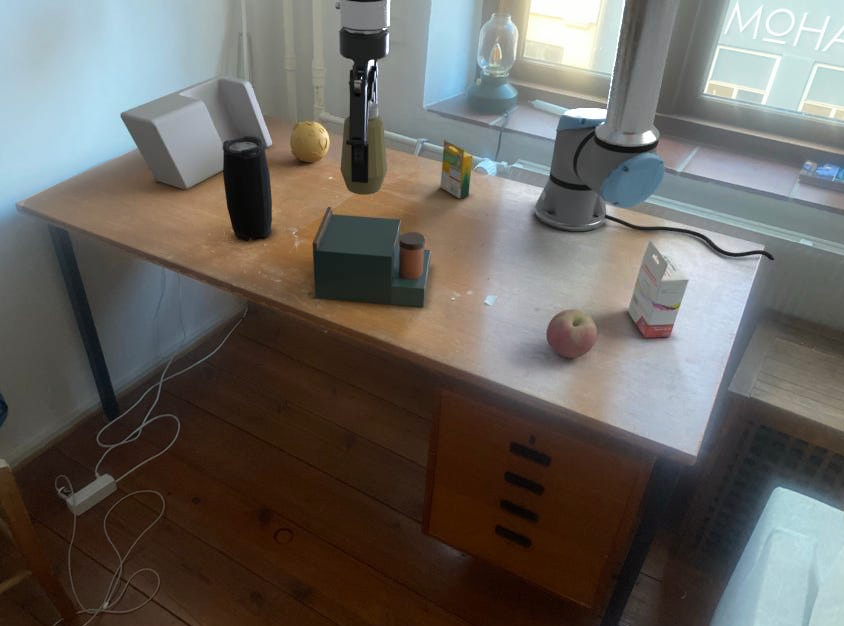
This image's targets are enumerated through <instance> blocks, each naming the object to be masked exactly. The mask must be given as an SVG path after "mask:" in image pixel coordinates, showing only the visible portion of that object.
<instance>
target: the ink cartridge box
mask: <svg viewBox="0 0 844 626" xmlns="http://www.w3.org/2000/svg"><path fill="white" fill-rule="evenodd" d="M689 281H690V280H689V277H688V276H687V275H686V274H685V272H684V271H683V270H682V269H681V267H680V266H679V265H678V264H677V262H676V261H675V259H673V257H672V256H671V255H670V254H662V253H661V252H660V250H659V249H658V248H657V246H656V245H655V244H654V243H653V241H652V240H649V242H648V244H647V247H646V249H645V251H644V254H643V256H642V260H641V263H640V267H639V270H638V273H637V277H636V280H635V284H634V288H633V292H632V295H631V298H630V302H629V306H628V309H627V312H628V314H629V315H630V317H631V319H632V320H633V322H634V324H635V325H636V326H637V328H638V330H639V331H640V333H641V335H642V336H643V338H645V339H646V338H647V339H649V338H670V337H671V335H672V332H673V329H674V326H675V323H676V319H677V316H678V314H679V311H680V308H681V304H682V302H683V298H684V296H685V293H686V290H687V287H688V285H689Z"/></svg>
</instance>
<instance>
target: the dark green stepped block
mask: <svg viewBox="0 0 844 626" xmlns="http://www.w3.org/2000/svg"><path fill="white" fill-rule="evenodd" d="M401 229H402V219H399V218H398V219H397V218H386V217H373V216H361V215H360V216H359V215H348V214H347V215H346V214H333V207H332V206H327V208H326V210H325V213H324V215H323V218H322V220H321V221H320V224H319V227H318V229H317V231H316V234H315V236H314V238H313V241H312V244H311V245H312V257H313V258H312V260H313V261H312V263H313V279H314V281H313V282H314V297H315V299H324V300H337V301H347V302H358V303H369V304H371V303H372V304H380V305H391V306H392V305H394V306H403V307H404V306H405V307H417V308H424V307H425V301H426V294H427V289H428V288H427V287H428V281H429V274H430V268H431V254H432V251H431V249H424V258H423V274H422V276H421V277H419V278H416V279H406V278H403V277H402V276H400V274H399V249H400V245H399V237H400V235H401V233H402V231H401Z"/></svg>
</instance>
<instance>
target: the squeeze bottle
mask: <svg viewBox="0 0 844 626" xmlns="http://www.w3.org/2000/svg"><path fill="white" fill-rule="evenodd" d="M367 95H368V94H367ZM379 116H380V115H379V105H378V103H377V104H376V103H374V102H372V101H370V102H369V117H368V134H367V140H368V143H369V162H368V183H360V182H352V169H351V145H347V144H346V141H349V116H347V117H346V118H345V119H344V122H343V133H342V144H341V145H342V146H341V159H340V173H341V176H342V178H343V181H344V185H345V186H346V189H347V190H348V192H350V193H353V194H356V195H362V196H363V195H365V196H366V195H367V196H368V195H373V194H375V193H378V192H379V191H380V190H381V189H382V186H383V183H384V180H385V179H386V175H387V174H388V173H387V172H388V160H387V148H386V135H385V124H384V123H385V122H384V119H382V118H381V116H380V117H379Z"/></svg>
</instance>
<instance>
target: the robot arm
mask: <svg viewBox="0 0 844 626" xmlns="http://www.w3.org/2000/svg"><path fill="white" fill-rule="evenodd" d="M678 4H679V0H623V5H622V13H621V18H620V25H619V30H618V37H617V44H616V50H615V51H616V52H615V56H614V62H613V68H612V73H611V81H610V87H609V94H608V99H607V106H606V109H601V108H589V107H587V108H574V109H570V110H567V111H564V112H563V113H562V114H561V115H560V116H559V119H558V124H557V127H556V130H555V131H556V132H555V133H556V134H555V140H554V146H553V151H552V157H551V164H550V171H549V175H548V180H547V182H546V184H545V186H544V187H543V190H542V191H541V193H540V195H539V197H538V199H537V200H536V204H535V207H534V214H535V216H536V218H537V219H538V220H539V221H540V222H542V223H543V224H544V225H547V226H549V227H551V228H554V229H558V230H562V231H567V232H588V231H593V230H596V229H598V228H600V227H602V226H603V224H604V223H605V222H606V221H605V220H608V221H611V222H614V223H617V224H620V225H622V226H624V227H627V228H630V229H632V230H636V231H637V230H638V231H646V232H647V231H666V232H675V233H681V234H687V235H690V236H691V235H692V236H695V237H697V238H700V239H701V240H703V241H705V242H706V243H707V244H708V245H709V247H710V248H712V249H713V250H714V251H715V252H717V253H718V254H721V255H723V256H726V257H730V258H731V257H733V258H742V257H749V256H755V255H761V256H764V257H766V258H767V259H768V260H769V261H775V257H774V256H773V254H772V253H769V252H768V251H766V250H762V249H761V250H760V249H757V250H749V251H742V252H730V251H727V250H724V249H722V248H720V247H719V246H718V245H717V244H715V242H713V240H711V238H709V237H708V236H706V234H703V233H701V232H698V231H695V230H692V229H687V228H681V227H674V226H673V227H671V226H659V225H656V226H644V225H643V226H642V225H637V224H632V223H630V222H627V221H625V220H622V219H620V218H618V217H614V216H611V215H609V214H607V204H606V202H607V203H609V204H611V205H612V206H614V207H616V208H619V209H628V208H629V209H630V208H632V207H635V206H639V205H640V204H643V203H644V202H645V201H647V200H648V199H649V198H650V197H651V196H652V195H654V194H655V193H656V191H657V190H658V189H659V188H660V186H661V184H662V183H663V180H664V178H665V175H666V174H665V173H666V165H665V161H663V159H662V157H661V156H660V155H658V154H657V150H658V145H659V141H660V131H659V130H658V129H657V128H656V126H655V125H654V122H655V117H656V112H657V109H658V102H659V97H660V92H661V88H662V82H663V78H664V73H665V68H666V64H667V58H668V53H669V48H670V43H671V38H672V33H673V30H674V29H673V28H674V24H675V18H676V14H677V9H678ZM334 8H335V10H339V13H338V17H339V18H338V21H339V26H341V28H340V29H339V31H338V37H339V38H338V40H339V41H338V43H339V53H340V54H339V55H340V56H342V57H343V58H345V59H348V60H351V61H353V64H352V66H351V68H352V69H350V70H349V81H348V85H349V87H348V88H349V116H348V117H349V141H346V144H347V145H351V169H352V182H360V183H368V162H369V143H368V140H367V134H368V117H369V102H370V101H372V102H374V103H376V104H377V105H378V74H379V66H378V63H379V60H382V59H384V58H386V57H387V56H388V54H389V46H390V45H389V44H390V43H389V38H390V32H389V30H388V29H387V28H388V26H390V15H391V13H390V10H391V9H390V8H391V0H338V1H337V2H335V4H334ZM367 94H368V95H367ZM378 116H379V117H380V118H381V115H378Z"/></svg>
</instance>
